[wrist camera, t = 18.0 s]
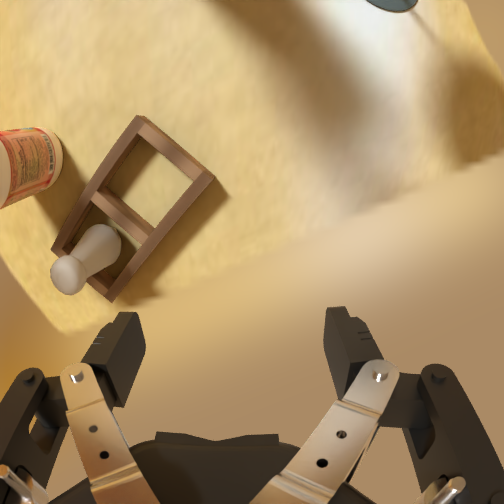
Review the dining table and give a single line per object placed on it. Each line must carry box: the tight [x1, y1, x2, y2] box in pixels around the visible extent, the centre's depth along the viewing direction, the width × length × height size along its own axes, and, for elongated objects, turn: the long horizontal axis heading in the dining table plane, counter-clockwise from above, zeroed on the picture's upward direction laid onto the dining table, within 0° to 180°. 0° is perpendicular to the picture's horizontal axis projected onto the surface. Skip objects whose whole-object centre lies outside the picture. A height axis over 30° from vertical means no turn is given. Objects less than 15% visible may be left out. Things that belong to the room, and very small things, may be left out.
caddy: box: [51, 115, 215, 303], centre depth 38 cm, size 12×22×3 cm, turn 137°
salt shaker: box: [50, 224, 121, 295], centre depth 35 cm, size 6×6×13 cm
